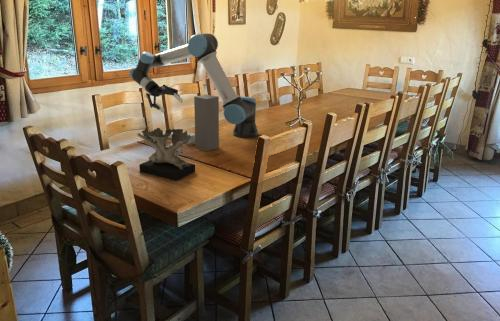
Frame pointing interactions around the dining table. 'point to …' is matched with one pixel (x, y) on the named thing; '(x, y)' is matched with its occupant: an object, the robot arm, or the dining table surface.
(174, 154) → the coral branch
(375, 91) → the dining table surface
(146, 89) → the robot arm
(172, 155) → the coral
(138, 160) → the dining table surface
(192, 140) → the jaw bar
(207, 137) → the stand
